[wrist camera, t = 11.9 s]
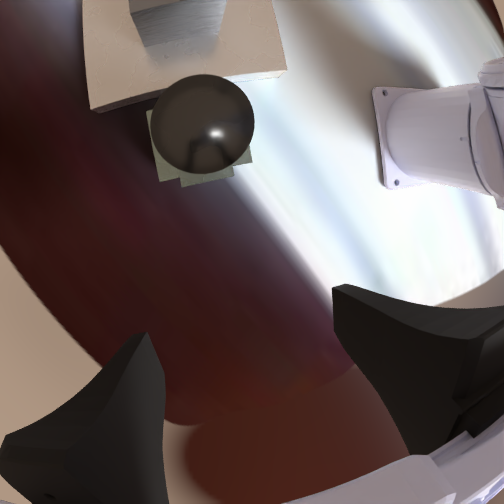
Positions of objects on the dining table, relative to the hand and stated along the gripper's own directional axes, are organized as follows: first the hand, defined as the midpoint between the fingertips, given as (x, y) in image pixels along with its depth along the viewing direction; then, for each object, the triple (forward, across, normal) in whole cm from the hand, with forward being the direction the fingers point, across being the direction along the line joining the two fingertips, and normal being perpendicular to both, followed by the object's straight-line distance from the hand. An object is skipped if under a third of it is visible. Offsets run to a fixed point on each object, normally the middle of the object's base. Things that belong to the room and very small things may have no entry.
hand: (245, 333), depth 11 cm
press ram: (+7, 0, -8) cm, 11 cm away
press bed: (+10, 0, -13) cm, 17 cm away
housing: (+8, 0, -16) cm, 18 cm away
